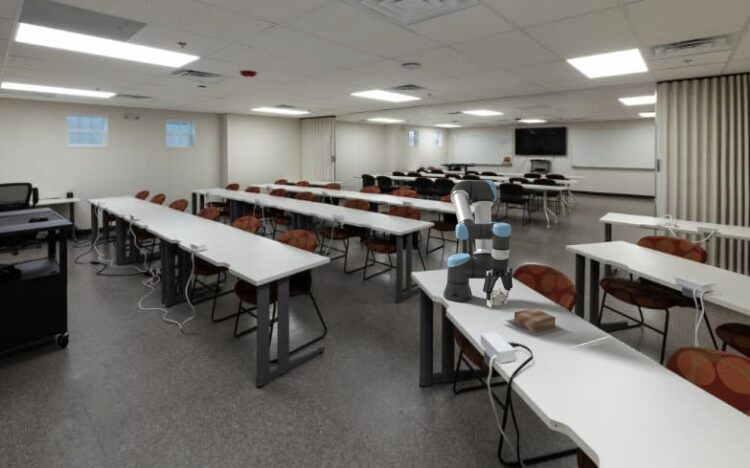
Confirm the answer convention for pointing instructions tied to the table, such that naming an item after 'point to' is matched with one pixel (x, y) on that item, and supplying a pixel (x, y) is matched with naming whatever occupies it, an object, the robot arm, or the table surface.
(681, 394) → the table surface
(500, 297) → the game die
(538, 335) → the build mat
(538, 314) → the base block
